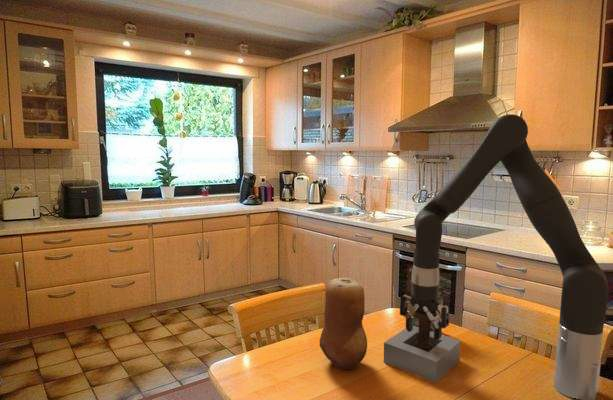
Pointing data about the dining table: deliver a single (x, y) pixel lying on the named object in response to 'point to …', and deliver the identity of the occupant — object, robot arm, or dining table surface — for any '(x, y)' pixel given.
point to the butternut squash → (344, 323)
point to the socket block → (422, 354)
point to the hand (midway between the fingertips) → (422, 334)
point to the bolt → (423, 332)
